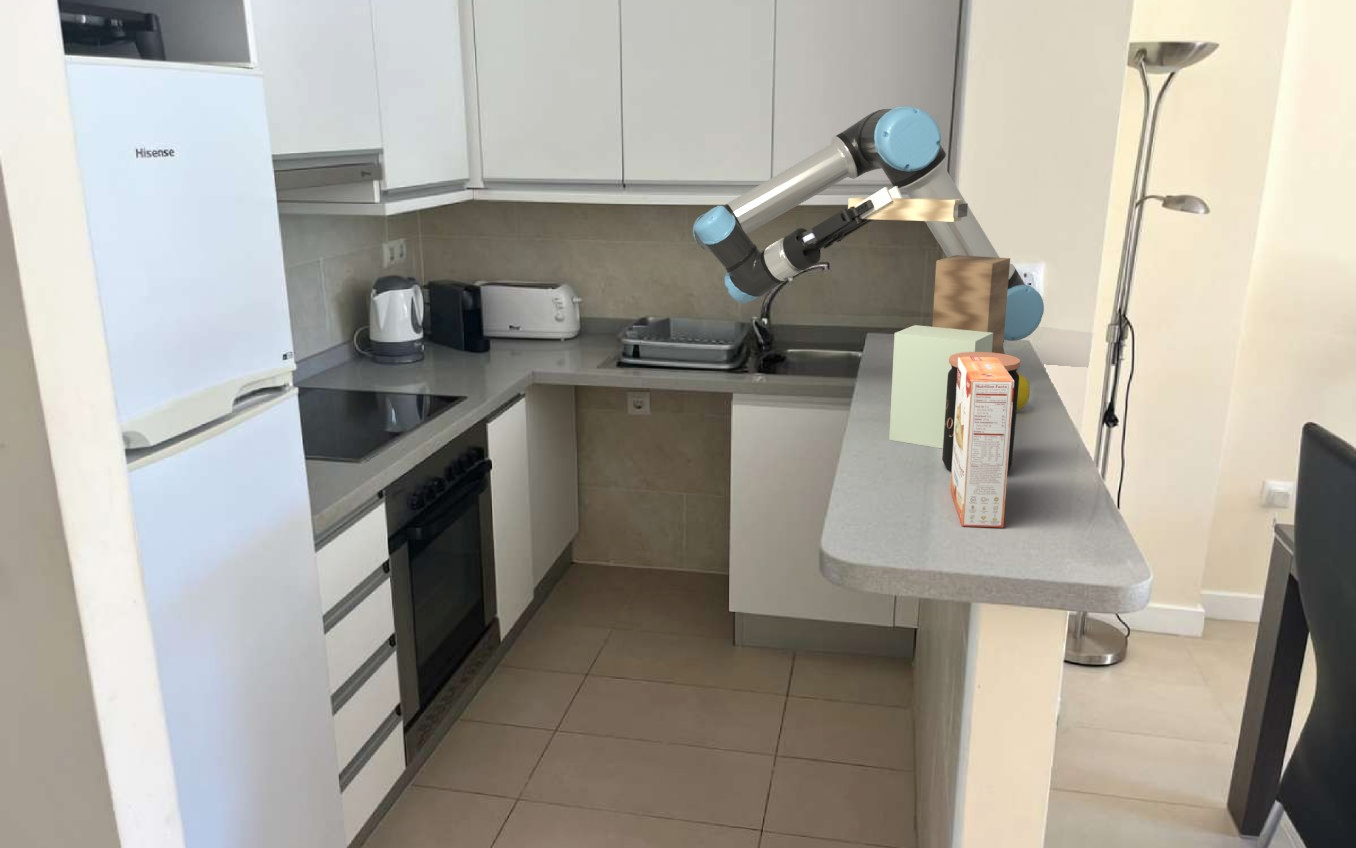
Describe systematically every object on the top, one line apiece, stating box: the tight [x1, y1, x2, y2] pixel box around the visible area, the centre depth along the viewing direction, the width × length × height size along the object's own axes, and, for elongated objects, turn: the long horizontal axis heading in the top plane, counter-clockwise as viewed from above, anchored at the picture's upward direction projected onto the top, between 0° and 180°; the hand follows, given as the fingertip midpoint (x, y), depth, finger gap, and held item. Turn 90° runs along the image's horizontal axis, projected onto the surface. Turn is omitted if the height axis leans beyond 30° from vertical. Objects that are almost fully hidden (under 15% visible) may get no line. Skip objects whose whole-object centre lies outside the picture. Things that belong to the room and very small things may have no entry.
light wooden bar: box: [847, 196, 969, 222], centre depth 177 cm, size 21×4×4 cm, turn 54°
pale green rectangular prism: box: [888, 324, 993, 450], centre depth 173 cm, size 14×9×19 cm, turn 55°
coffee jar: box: [941, 352, 1021, 473], centre depth 157 cm, size 11×11×18 cm
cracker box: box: [950, 357, 1014, 529], centre depth 139 cm, size 14×6×21 cm, turn 171°
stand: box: [931, 255, 1011, 354], centre depth 183 cm, size 12×12×30 cm
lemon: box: [1016, 371, 1031, 411], centre depth 191 cm, size 6×6×8 cm
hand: (894, 193), depth 178 cm, fingers closed on light wooden bar, 4 cm apart
